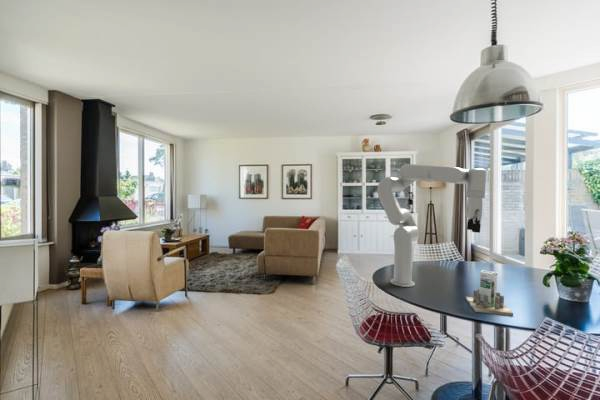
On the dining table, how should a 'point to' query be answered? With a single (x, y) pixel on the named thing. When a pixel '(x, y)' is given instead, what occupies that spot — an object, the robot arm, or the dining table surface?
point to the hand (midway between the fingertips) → (473, 230)
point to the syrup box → (488, 286)
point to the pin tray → (490, 309)
